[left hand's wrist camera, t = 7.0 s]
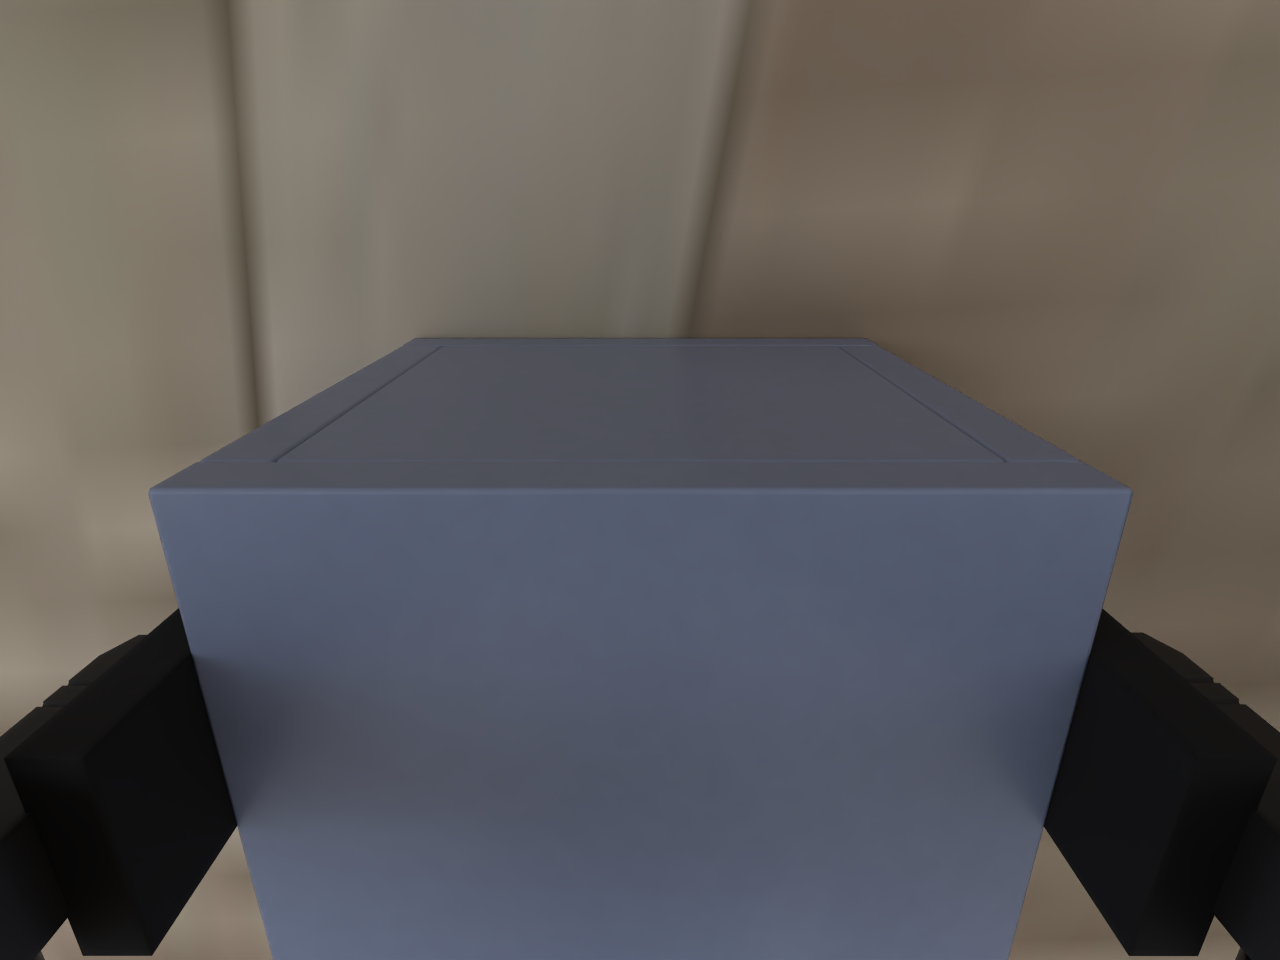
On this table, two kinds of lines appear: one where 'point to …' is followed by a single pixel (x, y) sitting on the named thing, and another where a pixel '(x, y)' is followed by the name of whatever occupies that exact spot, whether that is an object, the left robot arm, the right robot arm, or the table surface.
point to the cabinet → (640, 652)
